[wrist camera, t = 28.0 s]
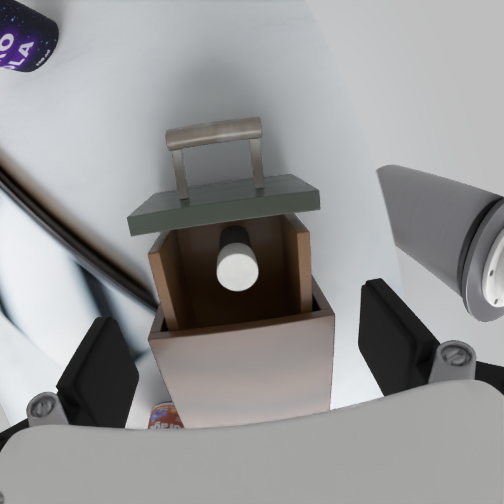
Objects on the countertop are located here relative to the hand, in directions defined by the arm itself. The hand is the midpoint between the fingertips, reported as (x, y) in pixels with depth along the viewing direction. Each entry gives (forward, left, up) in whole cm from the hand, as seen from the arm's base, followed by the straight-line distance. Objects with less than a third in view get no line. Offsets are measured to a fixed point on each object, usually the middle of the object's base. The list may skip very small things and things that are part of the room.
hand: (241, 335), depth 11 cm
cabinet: (0, +13, -17) cm, 21 cm away
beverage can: (+16, -20, -17) cm, 31 cm away
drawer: (0, +2, -16) cm, 16 cm away
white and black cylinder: (0, +1, -15) cm, 15 cm away
